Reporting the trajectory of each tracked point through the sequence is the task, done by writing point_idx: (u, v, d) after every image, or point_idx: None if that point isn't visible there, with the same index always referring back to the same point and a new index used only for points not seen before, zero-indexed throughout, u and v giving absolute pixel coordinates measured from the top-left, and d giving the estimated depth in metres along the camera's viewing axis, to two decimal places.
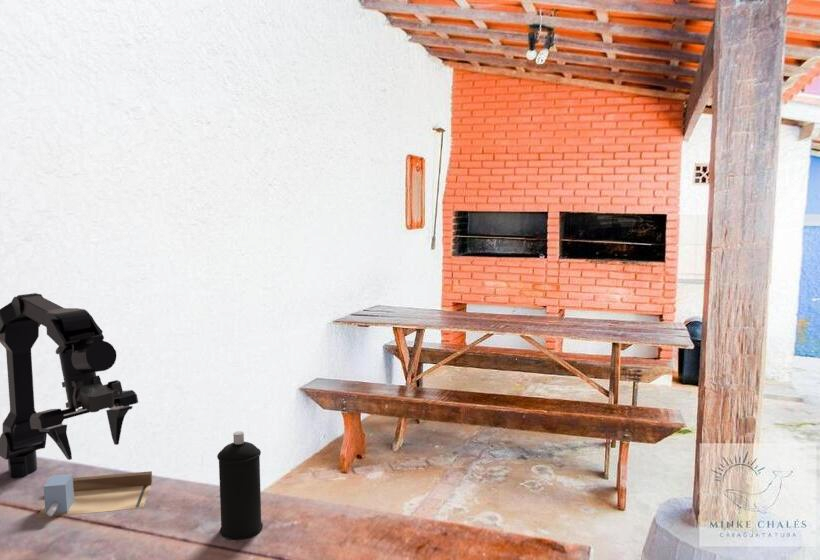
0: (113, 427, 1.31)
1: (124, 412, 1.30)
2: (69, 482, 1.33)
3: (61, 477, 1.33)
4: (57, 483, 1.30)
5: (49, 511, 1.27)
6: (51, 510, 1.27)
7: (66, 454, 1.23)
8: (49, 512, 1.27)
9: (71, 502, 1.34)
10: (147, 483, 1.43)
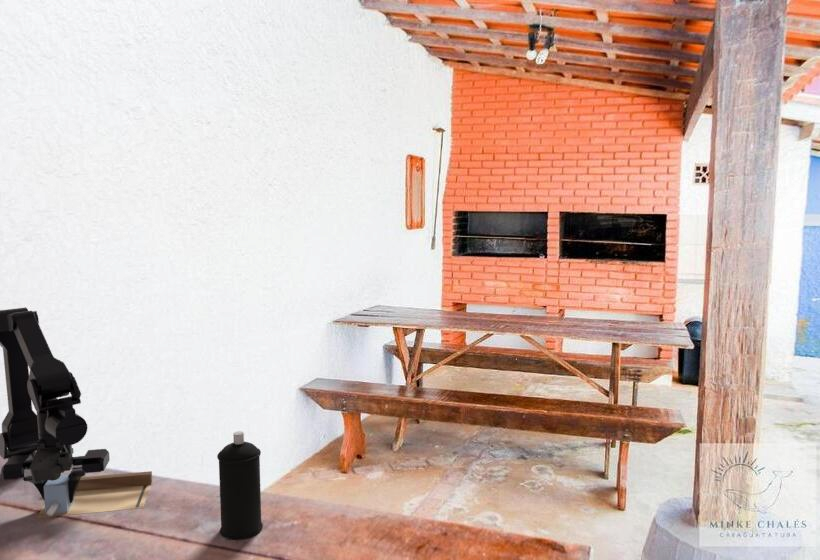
0: None
1: (75, 478, 1.30)
2: None
3: (61, 477, 1.33)
4: (57, 483, 1.30)
5: (49, 511, 1.27)
6: (51, 510, 1.27)
7: None
8: (49, 512, 1.27)
9: None
10: (147, 483, 1.43)
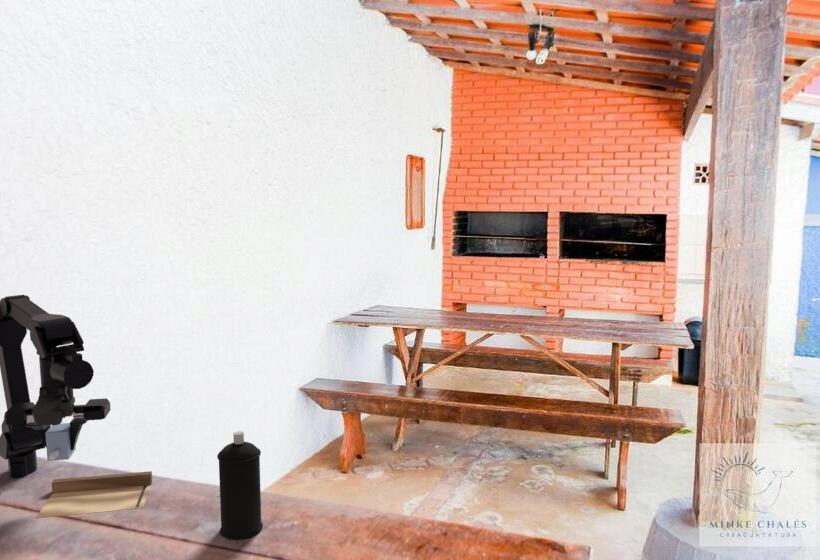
0: None
1: (76, 425, 1.33)
2: None
3: (63, 425, 1.36)
4: (58, 430, 1.33)
5: (51, 456, 1.29)
6: (53, 455, 1.29)
7: None
8: (51, 457, 1.29)
9: (72, 450, 1.36)
10: (147, 483, 1.43)
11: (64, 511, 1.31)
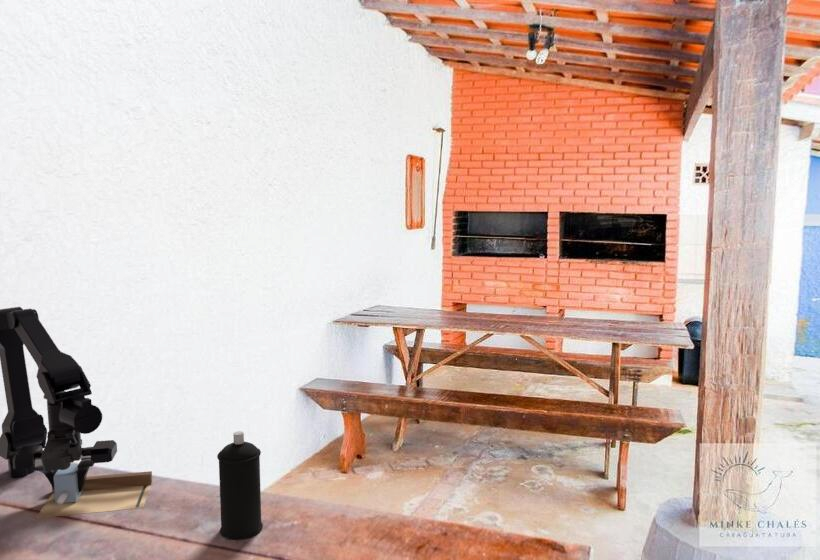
0: None
1: (84, 468, 1.34)
2: (78, 472, 1.37)
3: (70, 467, 1.37)
4: (66, 473, 1.34)
5: (59, 500, 1.31)
6: (61, 499, 1.31)
7: None
8: (59, 501, 1.31)
9: (80, 492, 1.38)
10: (147, 483, 1.43)
11: (64, 511, 1.31)
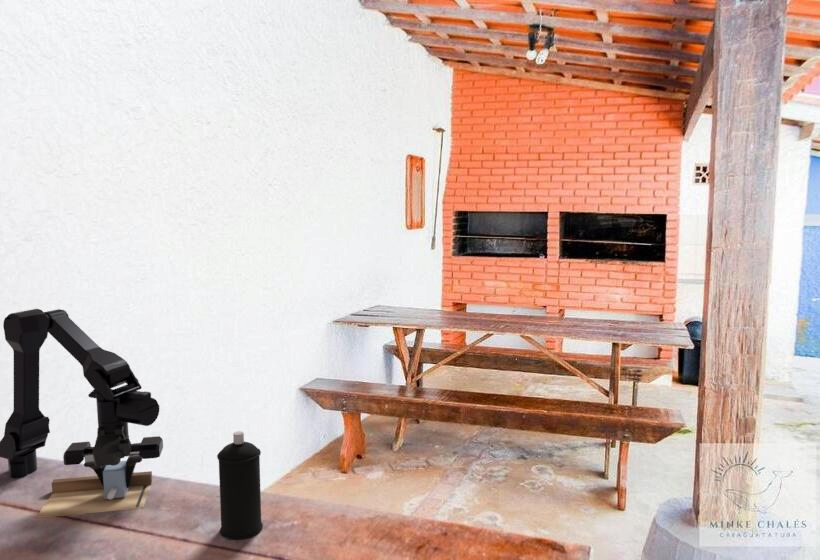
0: None
1: (132, 464, 1.36)
2: (126, 468, 1.39)
3: None
4: (115, 469, 1.36)
5: (109, 495, 1.33)
6: (111, 494, 1.33)
7: None
8: (109, 496, 1.33)
9: None
10: (147, 483, 1.43)
11: (64, 511, 1.31)
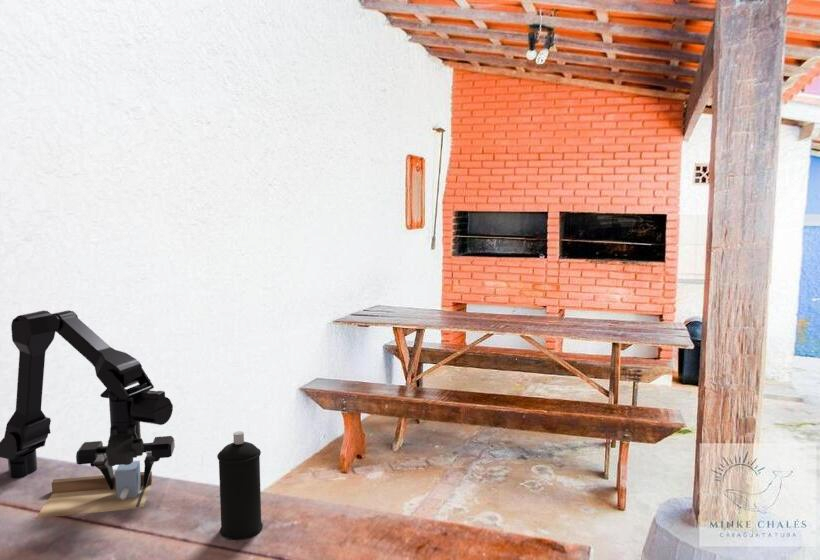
0: None
1: (150, 462, 1.37)
2: (137, 468, 1.39)
3: None
4: (127, 469, 1.37)
5: (122, 495, 1.33)
6: (124, 494, 1.33)
7: None
8: (122, 496, 1.33)
9: (139, 487, 1.40)
10: (147, 483, 1.43)
11: (64, 511, 1.31)
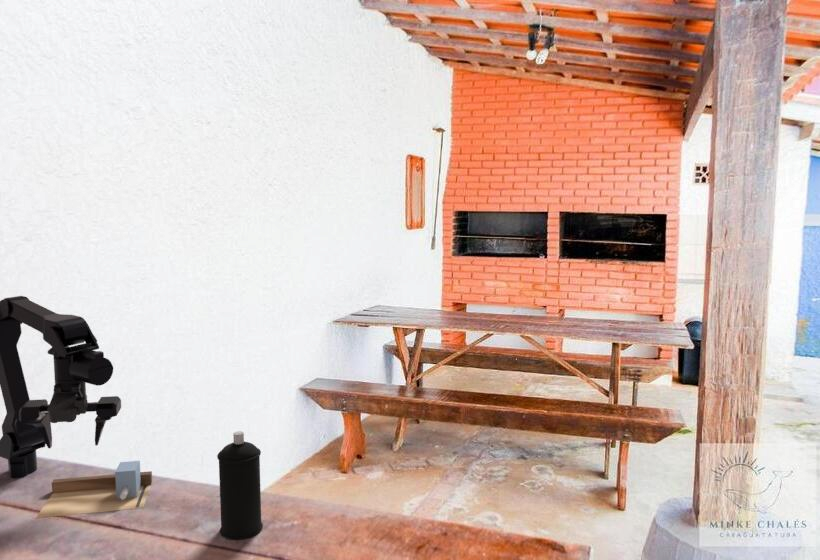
0: None
1: (101, 421, 1.37)
2: (137, 468, 1.39)
3: (130, 463, 1.40)
4: (127, 469, 1.37)
5: (122, 495, 1.33)
6: (124, 494, 1.33)
7: None
8: (122, 496, 1.33)
9: (139, 487, 1.40)
10: (147, 483, 1.43)
11: (64, 511, 1.31)
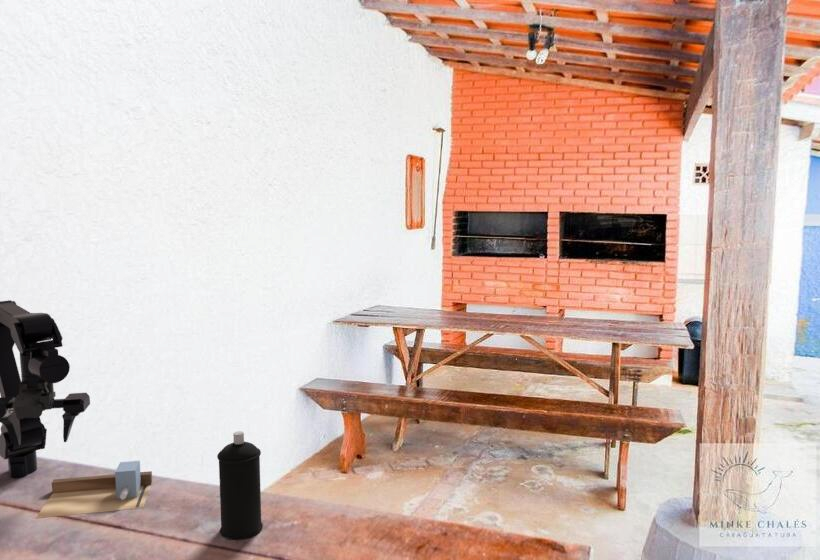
0: None
1: (68, 417, 1.37)
2: (137, 468, 1.39)
3: (130, 463, 1.40)
4: (127, 469, 1.37)
5: (122, 495, 1.33)
6: (124, 494, 1.33)
7: None
8: (122, 496, 1.33)
9: (139, 487, 1.40)
10: (147, 483, 1.43)
11: (64, 511, 1.31)
